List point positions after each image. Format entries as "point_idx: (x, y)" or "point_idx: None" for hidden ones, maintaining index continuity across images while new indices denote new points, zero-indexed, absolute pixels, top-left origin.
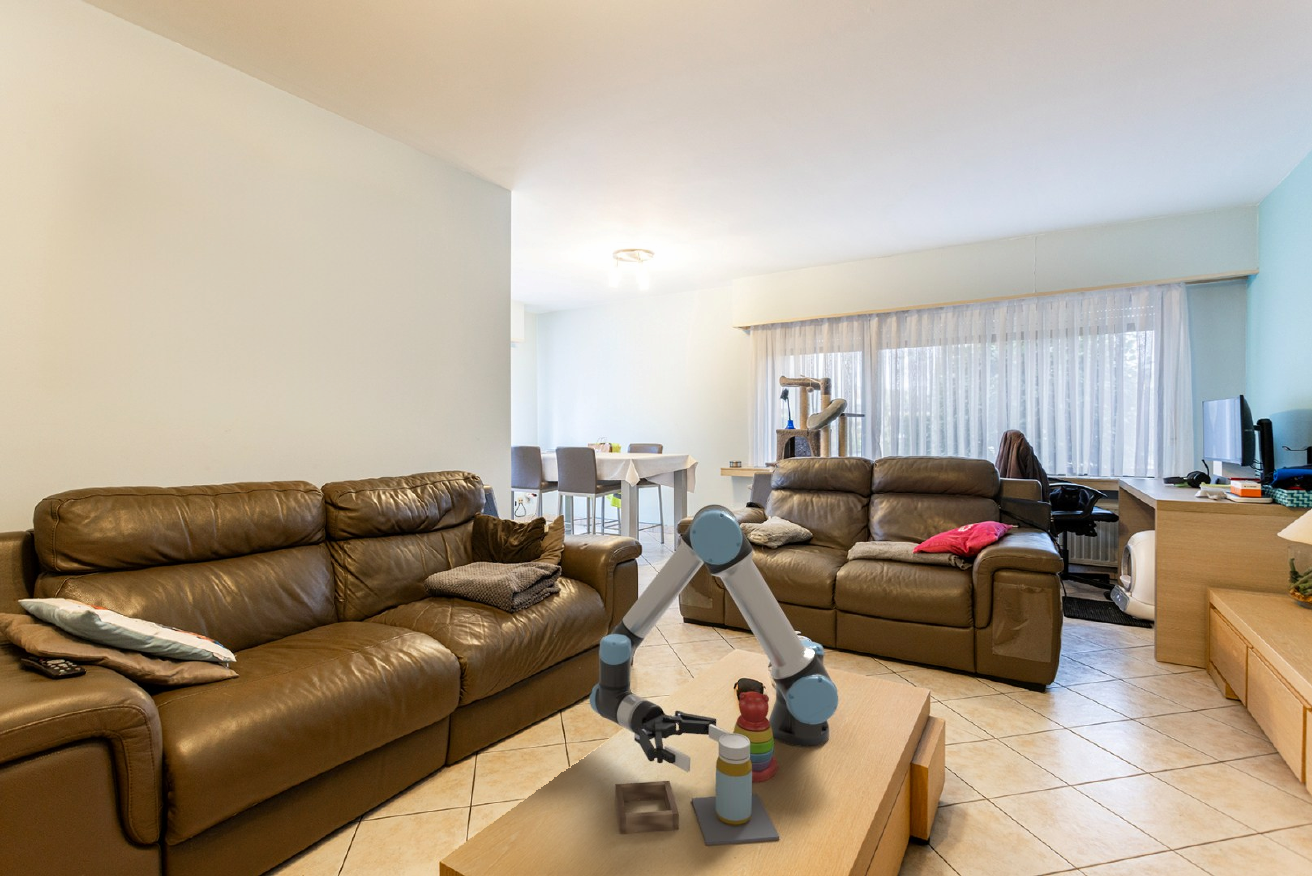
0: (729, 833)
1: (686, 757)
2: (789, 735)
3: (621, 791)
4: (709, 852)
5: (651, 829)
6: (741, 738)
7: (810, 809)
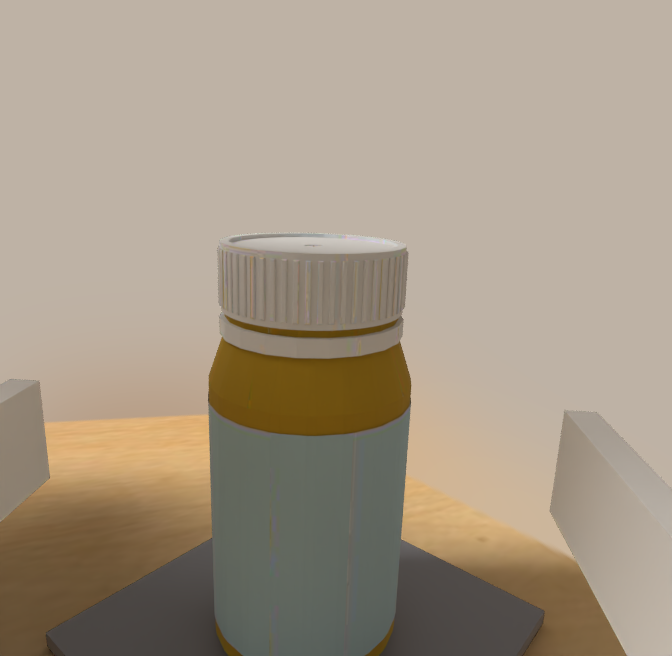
0: (419, 580)
1: (600, 418)
2: None
3: None
4: (554, 598)
5: None
6: (256, 241)
7: (72, 496)
